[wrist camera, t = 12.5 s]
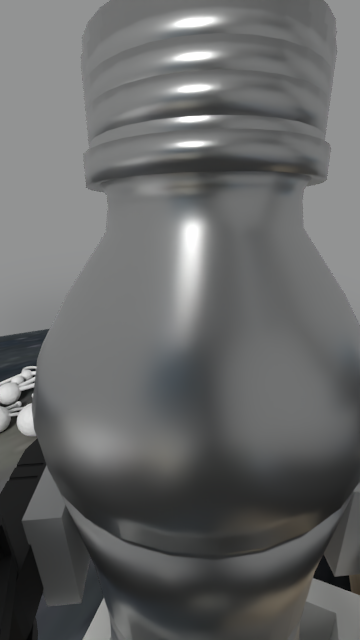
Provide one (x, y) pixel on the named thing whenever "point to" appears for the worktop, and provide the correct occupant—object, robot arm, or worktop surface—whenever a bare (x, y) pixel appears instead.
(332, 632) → the frame
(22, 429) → the tangled rod sculpture
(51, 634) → the worktop surface
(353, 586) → the beige rectangular block
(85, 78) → the plastic bottle
